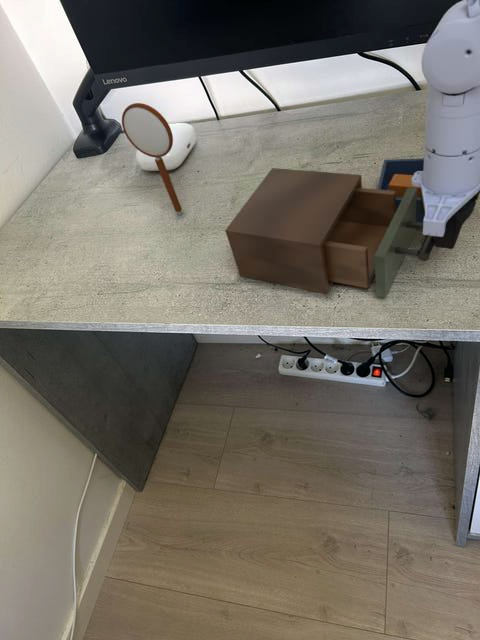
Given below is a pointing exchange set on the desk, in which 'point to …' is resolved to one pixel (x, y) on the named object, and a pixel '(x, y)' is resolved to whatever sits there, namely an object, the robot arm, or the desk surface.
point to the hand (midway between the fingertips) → (445, 244)
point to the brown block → (402, 185)
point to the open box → (402, 168)
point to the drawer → (374, 239)
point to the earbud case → (180, 149)
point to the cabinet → (290, 227)
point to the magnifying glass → (151, 139)
